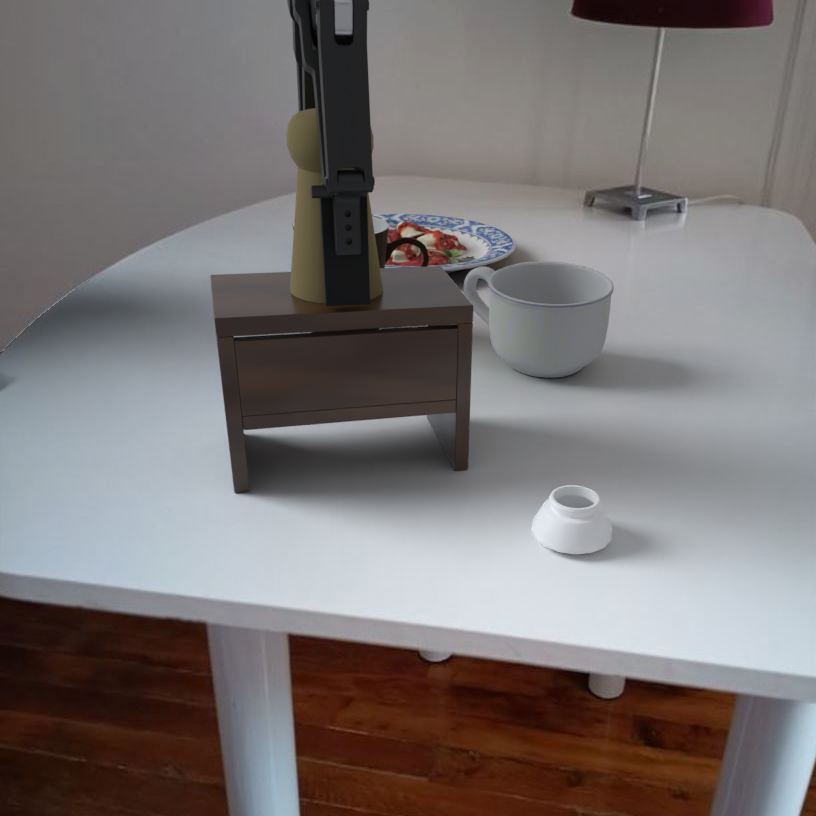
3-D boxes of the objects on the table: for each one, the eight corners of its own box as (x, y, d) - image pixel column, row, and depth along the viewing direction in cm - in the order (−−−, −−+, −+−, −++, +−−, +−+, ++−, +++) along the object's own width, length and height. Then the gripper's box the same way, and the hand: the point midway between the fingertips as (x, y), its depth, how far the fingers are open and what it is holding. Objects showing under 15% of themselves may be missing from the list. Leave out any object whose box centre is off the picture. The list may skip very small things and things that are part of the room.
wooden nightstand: (228, 434, 68) (210, 274, 62) (438, 416, 72) (440, 265, 66) (234, 493, 60) (214, 318, 54) (468, 469, 65) (473, 305, 59)
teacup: (628, 367, 83) (638, 280, 79) (553, 400, 76) (560, 306, 72) (512, 327, 91) (517, 246, 87) (434, 354, 84) (435, 267, 79)
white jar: (536, 512, 60) (526, 553, 56) (539, 473, 58) (529, 512, 54) (612, 521, 59) (608, 564, 55) (617, 482, 58) (613, 522, 54)
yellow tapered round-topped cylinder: (401, 287, 61) (399, 110, 56) (343, 310, 56) (336, 119, 51) (330, 270, 64) (322, 99, 58) (270, 291, 59) (255, 107, 54)
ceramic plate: (260, 247, 111) (258, 222, 110) (428, 221, 127) (428, 199, 125) (383, 303, 95) (382, 275, 94) (558, 265, 110) (560, 240, 109)
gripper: (431, -153, 41) (428, 333, 53) (359, -123, 58) (369, 243, 69) (260, -168, 39) (296, 341, 51) (236, -132, 56) (268, 246, 67)
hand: (338, 284), depth 60 cm, fingers open, 7 cm apart
